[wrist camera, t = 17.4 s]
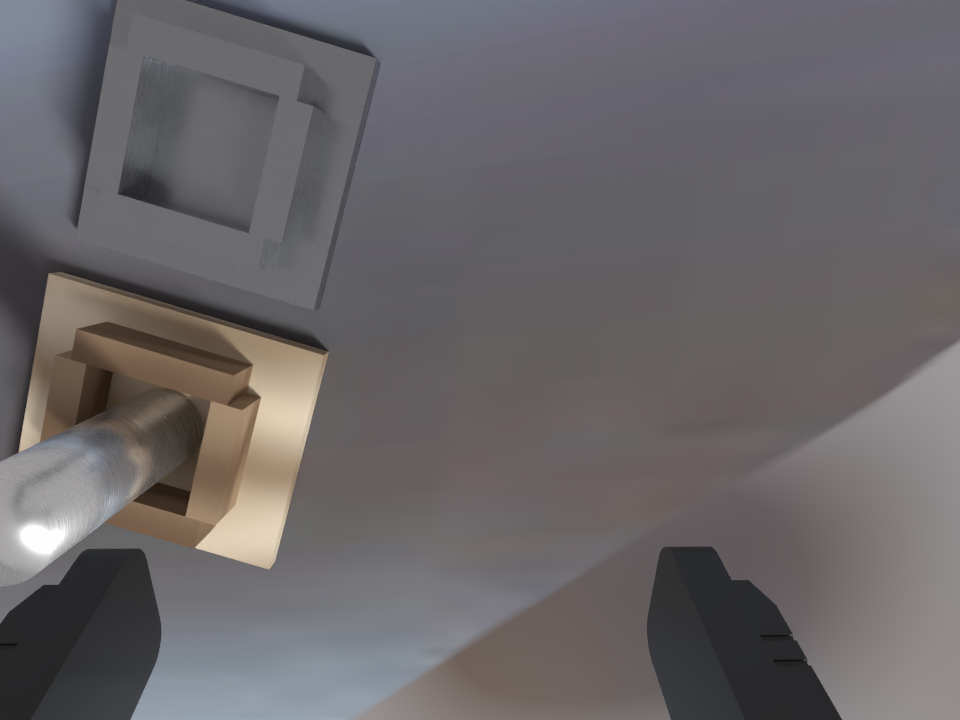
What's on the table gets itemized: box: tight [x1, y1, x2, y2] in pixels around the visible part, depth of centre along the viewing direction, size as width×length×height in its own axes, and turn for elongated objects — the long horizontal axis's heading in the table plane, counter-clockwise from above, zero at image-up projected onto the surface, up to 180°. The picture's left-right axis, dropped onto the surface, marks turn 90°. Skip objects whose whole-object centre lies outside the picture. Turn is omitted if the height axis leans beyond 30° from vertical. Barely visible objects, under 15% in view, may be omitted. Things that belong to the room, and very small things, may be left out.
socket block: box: [75, 0, 380, 311], centre depth 32 cm, size 12×12×4 cm
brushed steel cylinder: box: [0, 388, 204, 586], centre depth 29 cm, size 4×4×12 cm
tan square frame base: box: [19, 272, 329, 569], centre depth 34 cm, size 12×14×4 cm
